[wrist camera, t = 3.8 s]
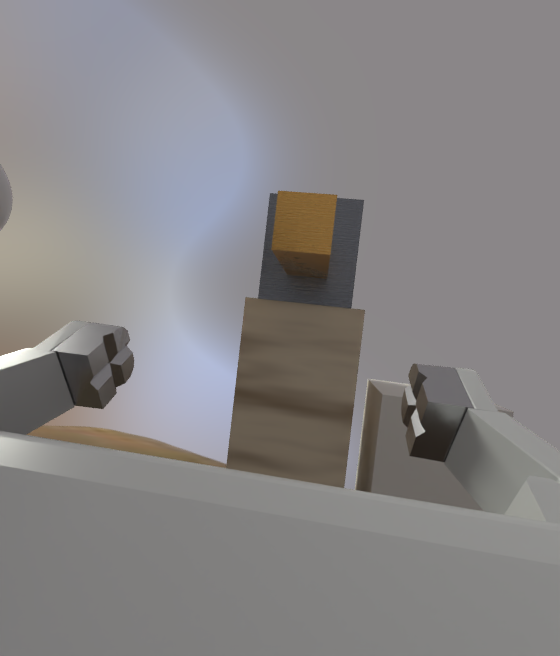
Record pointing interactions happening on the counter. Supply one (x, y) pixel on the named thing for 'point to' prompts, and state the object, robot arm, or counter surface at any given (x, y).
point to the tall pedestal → (295, 390)
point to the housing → (310, 249)
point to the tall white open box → (401, 455)
